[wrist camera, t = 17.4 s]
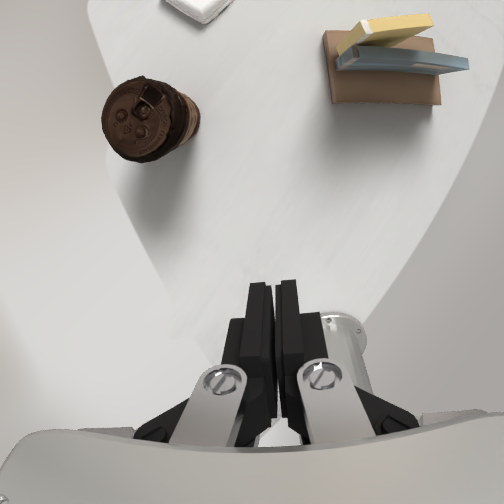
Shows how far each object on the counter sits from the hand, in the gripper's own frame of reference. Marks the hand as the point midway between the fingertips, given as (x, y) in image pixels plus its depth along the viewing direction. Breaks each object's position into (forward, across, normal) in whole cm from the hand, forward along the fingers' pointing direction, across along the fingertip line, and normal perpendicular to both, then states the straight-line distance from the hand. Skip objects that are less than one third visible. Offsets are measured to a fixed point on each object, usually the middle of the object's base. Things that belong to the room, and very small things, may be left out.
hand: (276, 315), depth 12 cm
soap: (+30, +6, -26) cm, 40 cm away
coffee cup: (+29, +11, -9) cm, 33 cm away
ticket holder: (+29, -15, -13) cm, 35 cm away
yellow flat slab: (+26, -12, -15) cm, 32 cm away
